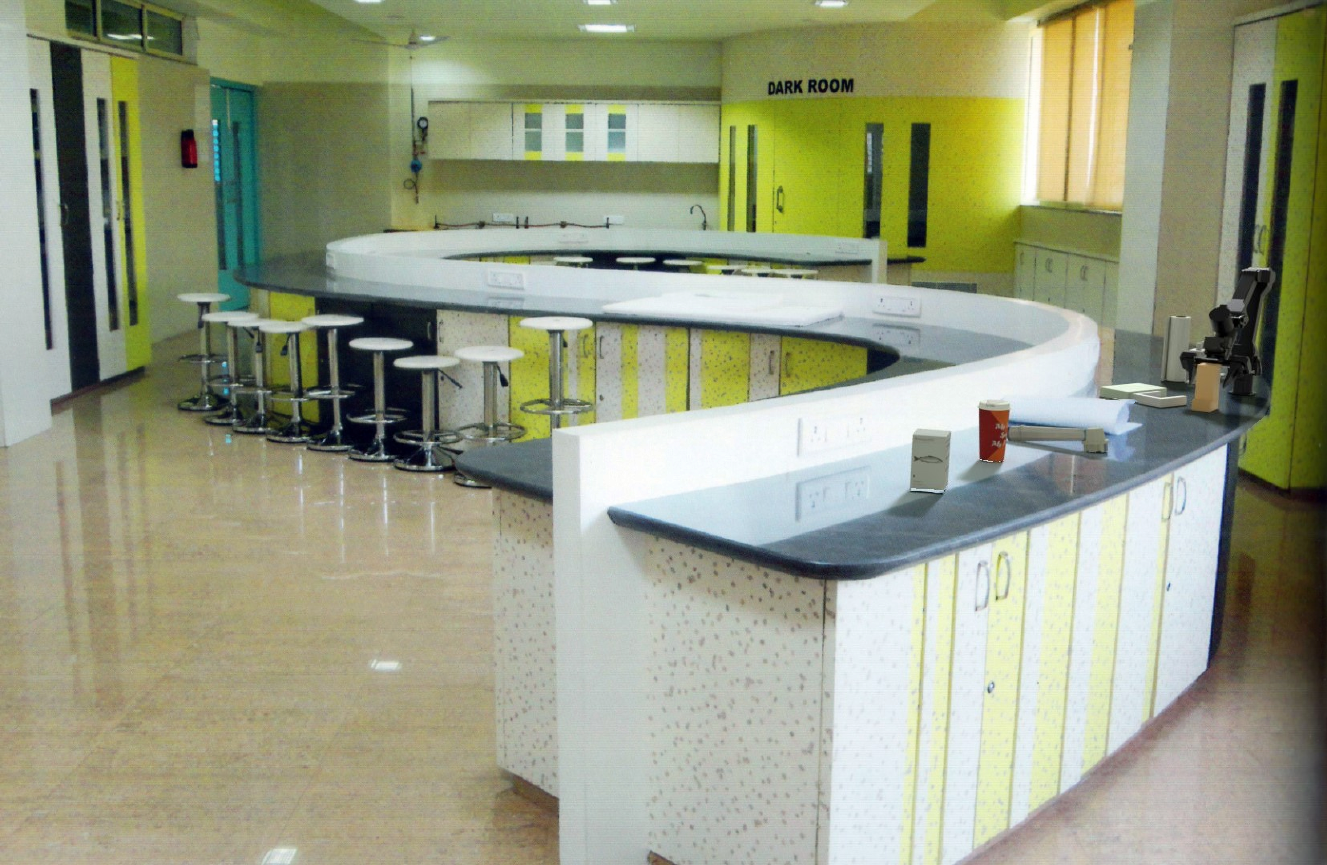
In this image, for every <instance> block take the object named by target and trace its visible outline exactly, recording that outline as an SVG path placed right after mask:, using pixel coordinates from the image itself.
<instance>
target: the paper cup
mask: <svg viewBox="0 0 1327 865" xmlns="http://www.w3.org/2000/svg"><path fill="white" fill-rule="evenodd" d="M977 408H978V448H979V449H978V452H979V453H978V454H979V460H980V459H982V460H988V461H993V462H999V461H1003V460H1004V461H1005V454H1006V447H1007V440H1008V439H1007V430H1008V427H1009V423H1010V414H1011V412H1010V411H1011V410H1012V406H1011V404H1010V401H1008V400H1001V399H982V400H980V401H979V403H978V405H977ZM1004 461H1003V462H1004ZM999 463H1000V462H999Z"/></svg>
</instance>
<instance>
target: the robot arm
mask: <svg viewBox="0 0 1327 865" xmlns="http://www.w3.org/2000/svg"><path fill="white" fill-rule="evenodd" d="M1275 281H1276V272H1275V271H1274V270H1273V269H1272V267H1261V266H1255V267H1254V266H1249V267H1248V268H1245V269H1241V272H1240V279H1239V281H1238V283H1237V285H1236V288H1235V289H1234V292H1233V295H1232V297H1231V299H1230V300H1229V302H1227V303H1225V304H1219V306H1217V307H1215V308H1213V309H1211V310H1210V311H1209V312H1208V318H1209V322H1210V325H1211V329H1212V332H1214V336H1208V335H1207V336H1205V337H1204V340H1203V341H1204V344H1203V348H1204V349H1205V351H1204V354H1205V355H1207V356H1206V357H1197V354H1196V352H1189V351H1183V352H1182V353H1181V354H1180V357H1179V358H1180V361H1181V365H1182V368H1183V369H1185V370H1186V373H1187V372H1188V380H1189V384H1188V385H1189V386H1191V385H1193V384H1192V383H1193V380H1194V378H1195V375H1196V373H1197V370H1196V369H1197V365H1198V364H1201V363H1212V364H1222V365H1221V368H1227V373H1226V374H1225V376H1224V380H1223V383H1222V385H1221V386H1222V389H1226V388H1227V387H1228V386H1229V385H1230V384H1232V389H1231V390H1229V391H1227V394H1233V395H1242V396H1247V397H1248V396H1253V395H1256V394H1258V392H1257V391H1254V386H1255V385H1254V384H1255V383H1254V382H1255V377H1257V376H1260V377H1261V376H1262V373H1263V366H1262V362H1261V358H1260V351H1259V349H1258V346H1257V345H1256V340H1257V335H1258V330H1259V324H1260V320H1261V319H1260V318H1261V315H1262V314H1261V313H1262V310H1263V309H1262V308H1263V304H1264V303H1263V302H1264V298H1265V297H1266V296H1267V295H1268V293H1269V292H1271V290H1272V287H1273V284H1274V283H1275ZM1237 329H1238V330H1240V332H1239V339H1238V341H1237V337H1238V331H1237Z"/></svg>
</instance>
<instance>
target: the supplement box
mask: <svg viewBox="0 0 1327 865" xmlns="http://www.w3.org/2000/svg"><path fill="white" fill-rule="evenodd" d="M951 438H952V431H951V430H943V429H930V428H929V429H928V428H916V429H915V431H914V432H913V433H912V442H911V460H910V463H911V464H910V478H909V479H910V480H909V481H910V482H909V489H910V488H916V489H934V490H944V489H945V488H946V486H947V485H948V486H949V474H950V473H949V472H950V456H951V455H950V454H951V452H950V451H951ZM948 486H947V487H948Z"/></svg>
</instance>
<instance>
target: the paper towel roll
mask: <svg viewBox="0 0 1327 865" xmlns="http://www.w3.org/2000/svg"><path fill="white" fill-rule="evenodd" d="M1164 321H1165V322H1164V323H1165V324H1164V333H1163V334H1164V335H1163V346H1162V348H1163V350H1162V360H1161V361H1162V362H1161V371H1160V372H1161V373H1160V374H1161V375H1160V381H1165V380H1166V381H1169V382H1178V383H1179V382H1180V383H1181V382H1185V381H1187V380H1186V379H1187V371H1186V370H1185V369H1183V368H1182V365H1181V361H1180V358H1179V357H1180V354H1181V353H1182V352H1183V351H1188V350H1189V349H1190V348H1189V345H1190V336H1191V335H1190V332H1191V323H1192V322H1191V321H1192V317H1191V316H1186V315H1174V316H1173V315H1172V316H1171V315H1170V316H1165V320H1164ZM1188 352H1189V351H1188Z"/></svg>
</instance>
